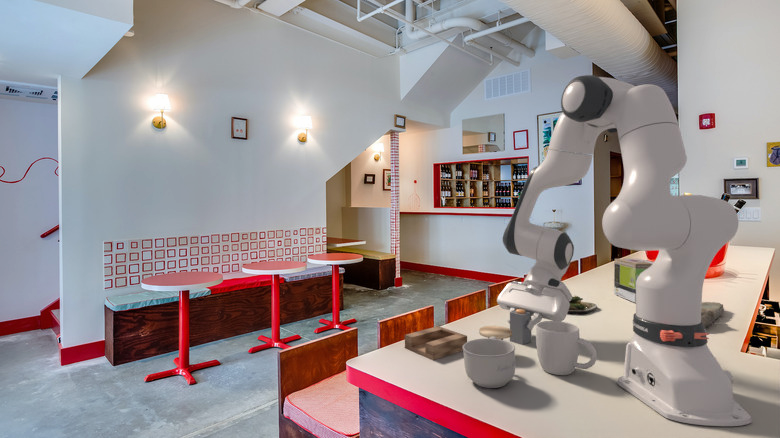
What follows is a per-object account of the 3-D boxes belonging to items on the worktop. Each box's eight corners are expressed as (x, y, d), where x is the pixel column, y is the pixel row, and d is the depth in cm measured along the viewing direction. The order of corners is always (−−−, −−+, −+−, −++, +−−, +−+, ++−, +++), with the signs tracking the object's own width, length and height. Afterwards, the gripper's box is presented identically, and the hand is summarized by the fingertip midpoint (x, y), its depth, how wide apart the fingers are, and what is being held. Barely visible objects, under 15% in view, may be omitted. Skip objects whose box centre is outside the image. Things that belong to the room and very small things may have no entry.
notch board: (438, 338, 118) (438, 326, 117) (467, 349, 109) (467, 335, 109) (404, 347, 110) (404, 334, 110) (433, 360, 102) (432, 345, 101)
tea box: (662, 303, 152) (662, 263, 151) (634, 303, 152) (634, 263, 151) (638, 294, 167) (638, 257, 166) (613, 294, 167) (613, 257, 166)
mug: (530, 371, 94) (529, 327, 94) (545, 359, 101) (545, 318, 100) (590, 387, 86) (590, 339, 85) (602, 373, 92) (602, 328, 92)
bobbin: (515, 360, 100) (514, 335, 100) (481, 359, 101) (481, 335, 101) (509, 348, 108) (509, 325, 108) (478, 348, 109) (477, 325, 109)
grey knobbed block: (519, 338, 117) (518, 307, 116) (531, 341, 113) (531, 310, 113) (510, 341, 114) (509, 310, 114) (522, 345, 111) (522, 313, 111)
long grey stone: (732, 316, 139) (696, 312, 147) (731, 300, 139) (695, 297, 147) (707, 334, 116) (665, 328, 123) (706, 315, 116) (665, 310, 124)
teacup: (506, 398, 82) (506, 358, 81) (455, 386, 87) (454, 348, 87) (524, 372, 93) (524, 337, 93) (478, 363, 99) (478, 330, 99)
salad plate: (561, 299, 162) (561, 287, 162) (608, 308, 148) (608, 295, 147) (531, 307, 151) (531, 294, 151) (578, 318, 136) (578, 304, 136)
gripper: (505, 273, 126) (483, 311, 120) (569, 283, 109) (547, 328, 104) (514, 286, 128) (494, 323, 123) (578, 298, 112) (557, 341, 107)
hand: (519, 325), depth 113 cm, fingers closed on grey knobbed block, 4 cm apart
